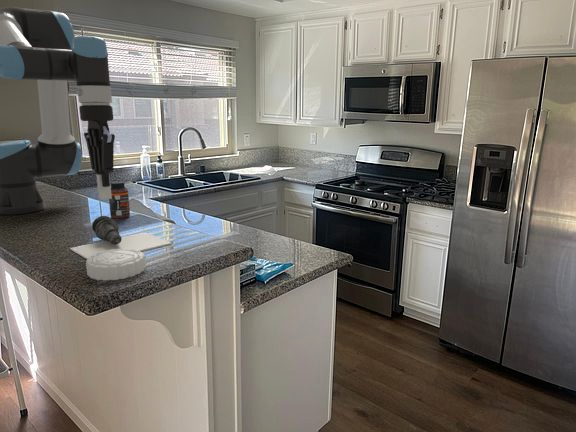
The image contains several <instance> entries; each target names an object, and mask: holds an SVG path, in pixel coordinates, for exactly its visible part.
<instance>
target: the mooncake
mask: <svg viewBox="0 0 576 432" xmlns="http://www.w3.org/2000/svg"><path fill="white" fill-rule="evenodd" d="M85 266H86V267H85V268H86V274H87V276H88V277H89V278H90V279H94V280H96V281H104V282H105V281H106V282H107V281H118V280H123V279H128V278H131V277H135V276H136V275H140V274H141V273H142V272H144V271H145V270H146V268H147V263H146V256H145V253H144V252H143V251H142V252H141V251H136V250H135V249H112V250H108V251H105V252H101V253H96V254H95V255H93V256H91V257H89V258H88V260H87V259H85Z"/></svg>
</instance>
